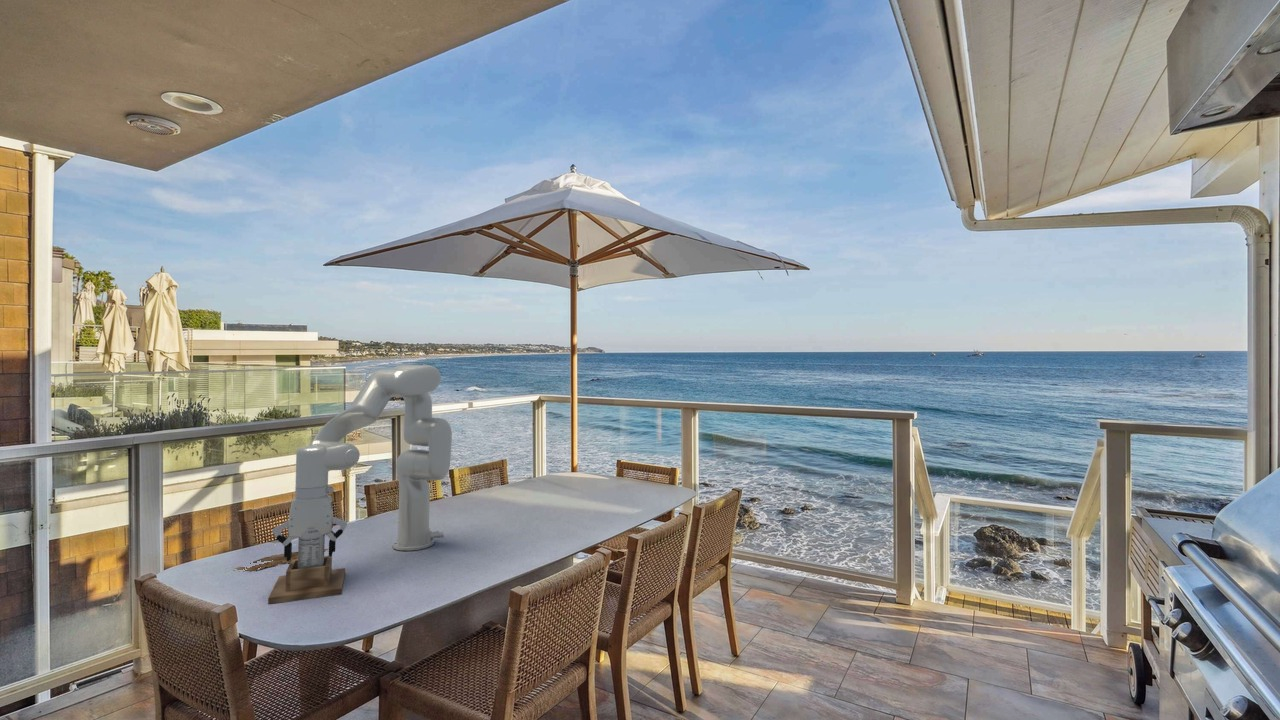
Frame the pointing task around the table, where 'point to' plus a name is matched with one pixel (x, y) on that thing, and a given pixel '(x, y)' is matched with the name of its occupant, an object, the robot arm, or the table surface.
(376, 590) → the table surface
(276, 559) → the wooden fragment
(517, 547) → the table surface
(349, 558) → the table surface
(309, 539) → the energy drink can
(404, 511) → the robot arm
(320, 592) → the slotted stand
